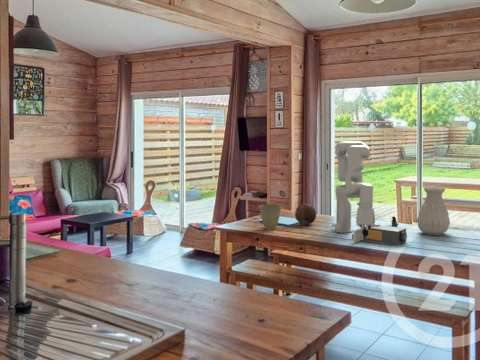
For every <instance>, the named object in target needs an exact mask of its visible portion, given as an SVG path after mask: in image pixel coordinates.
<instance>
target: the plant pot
mask: <svg viewBox="0 0 480 360" xmlns="http://www.w3.org/2000/svg"><path fill="white" fill-rule="evenodd" d="M281 210H282V205H280V204H261V205H259V212H260V213H259V214H260V216H261V217H260V218H261V222H262V225H263V227H264V230H266V229H267V230H266V231H274V229H275V230H276V229H277V227H278V223H279V220H280V217H281Z"/></svg>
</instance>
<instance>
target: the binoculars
mask: <svg viewBox="0 0 480 360" xmlns="http://www.w3.org/2000/svg"><path fill="white" fill-rule="evenodd" d="M390 226H391V227H398V226H399V223H398V221H397V218H396V216H392V217H391V224H390Z"/></svg>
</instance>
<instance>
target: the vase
mask: <svg viewBox="0 0 480 360" xmlns="http://www.w3.org/2000/svg"><path fill="white" fill-rule="evenodd" d="M423 190H424V191H425V193H426V196H425V199H424V202H423V203H422V205H421V207H420V209H419V212H418V215H417V219H416V223H417V227H418V229H419V230H420V231H421V232H422V233H424V234H425V235H428V236H441V235H443V234H444V233H447V231H448V230H449V227H450V224H451V221H450V216H449V211H448V209H447V207H446V206H447V205H446V204H445V203H444V202H445V201H444V199H443V193H444V192H445V190H446V188H445V187H443V186H442V187H440V186H424V188H423Z"/></svg>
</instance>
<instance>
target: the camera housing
mask: <svg viewBox="0 0 480 360" xmlns="http://www.w3.org/2000/svg"><path fill="white" fill-rule="evenodd" d="M374 224H375V227H371V228H369V229H368V235H367V236H366V237H365V236H364V237H363V239H362V240H363V241H370V242H375V243H381V242H382V244H387V243H389V245H392V246H393V245H395V246H398V245H401V244H403V242H404V243H406V242H405V241H407V238H408V234H407V228H404V227H403V228H402V227H398V226H397V227H391V225H383V224H377V223H374ZM365 229H366V225H365Z"/></svg>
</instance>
